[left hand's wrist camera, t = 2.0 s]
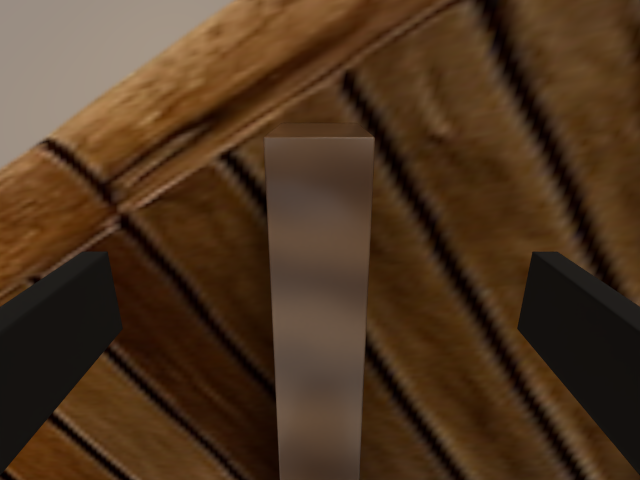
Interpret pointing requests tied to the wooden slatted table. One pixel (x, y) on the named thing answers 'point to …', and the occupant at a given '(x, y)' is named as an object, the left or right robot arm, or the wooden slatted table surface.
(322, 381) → the plank
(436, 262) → the wooden slatted table surface
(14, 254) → the wooden slatted table surface
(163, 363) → the wooden slatted table surface
